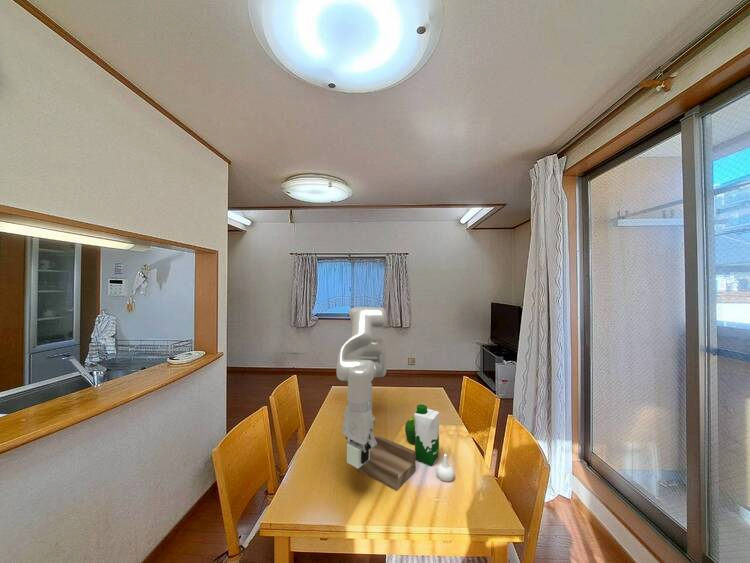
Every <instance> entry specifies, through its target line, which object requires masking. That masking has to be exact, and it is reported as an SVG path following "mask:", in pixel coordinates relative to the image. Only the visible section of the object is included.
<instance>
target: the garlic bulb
mask: <svg viewBox="0 0 750 563" xmlns="http://www.w3.org/2000/svg"><path fill="white" fill-rule="evenodd" d="M435 471H436V476H437V478H438V479H439V480H440V481H443V482H451V481H453V480H454V478H455V471H454V469H453V467H452V466H451V465H450V464H449V462H448V455H447V453H444V454H443V458H442V463H440V464H438V466H437V467H436V470H435Z"/></svg>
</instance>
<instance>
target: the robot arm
mask: <svg viewBox="0 0 750 563" xmlns="http://www.w3.org/2000/svg"><path fill="white" fill-rule="evenodd" d="M348 313H349V315H348V316H349V319H350V322H351V323H352V326H351V328H352V329H351V337H349V338H348V339H347V340H346V341H345V342H344V343H343V344H342V346H341V347H340V349H339V352H338V356H337V361H336V362H337V363H336V378H337V379H338V380H339V381H341V382H347V397H346V401H347V405H346V406H345V410H344V416H343V423H342V424H343V426H342V428H341V432H342V433H343V436H344V437H345V439H346V445H347V444H348V443H350V442H351V441H355V442H357V443H359V444H361V445H362V449H363V451H362V452H361V463H362V464H364V463H365V462H366V461H367V460H368V459H369V449H370V448H372V447H374V446H376V445H377V442H376V440H375V438H374V437H375V436H374V423H375V421H376V416H375V415H374V414H373V383H372V381H373V380H374V378H382V377H385V376H386V373H387V368H388V365H387V364H388V358H387V357H388V356H387V355H388V346H387V341H386V339H385V338H383V337H377V336H375V337H373V328H385V327H386V325H387V320H388V319H387V318H388V317H387V312H386V309H385V308H384V307H376V306H355V307H352V308H350V309H349V311H348ZM353 352H355V353H356V356H359V357H357V358H354V359H347V357H348V356H349V355H350V354H351V353H353ZM365 444H366V445H367V446H366V445H365Z"/></svg>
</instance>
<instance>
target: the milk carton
mask: <svg viewBox="0 0 750 563" xmlns="http://www.w3.org/2000/svg"><path fill="white" fill-rule="evenodd" d="M413 416H414V418H415V444H414V451H416V461H417V462H419V463H422V464H425V465H427V466H430V467H433V466H434V465H435V462H436V461H437V459H439V458H438V457H439V452H440V451H439V450H440V449H439V447H440V411H437V410H434V409H430V408H428V406H427V405H425V404H418V405H416V411H415V412H414V414H413Z"/></svg>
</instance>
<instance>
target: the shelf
mask: <svg viewBox="0 0 750 563" xmlns="http://www.w3.org/2000/svg"><path fill="white" fill-rule="evenodd" d="M374 438H375V440H376V442H377V445H376V446H374V447H372V448H370V459H369V460H368V461H367V462H366V463H364V464H363V465H362V466H361V467H360V468H356V467H355V469H356V470H358V471H359V472H361V473H362V474H365V475H367V476H369V477H371V478H372V479H374V480H375V481H377V482H378V483H381V484H383V485H385V486H386V487H389V488H390V489H392V490H394V491H398V490H399V489H400V487H402V486H403V484H405V482H406V481H407V480H408V479H409V478H410V477H411V476H412V475H413V474H414V473H415V472H416V466H417V465H416V463H417V462H416V451H415V449H414V450H413V449H411V448H408V447H407V446H404V445H402V444H399V443H396V442H394V441H392V440H390V439H387V438H385V437H383V436H381V435H377V434H376V435H375V436H374Z"/></svg>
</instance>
